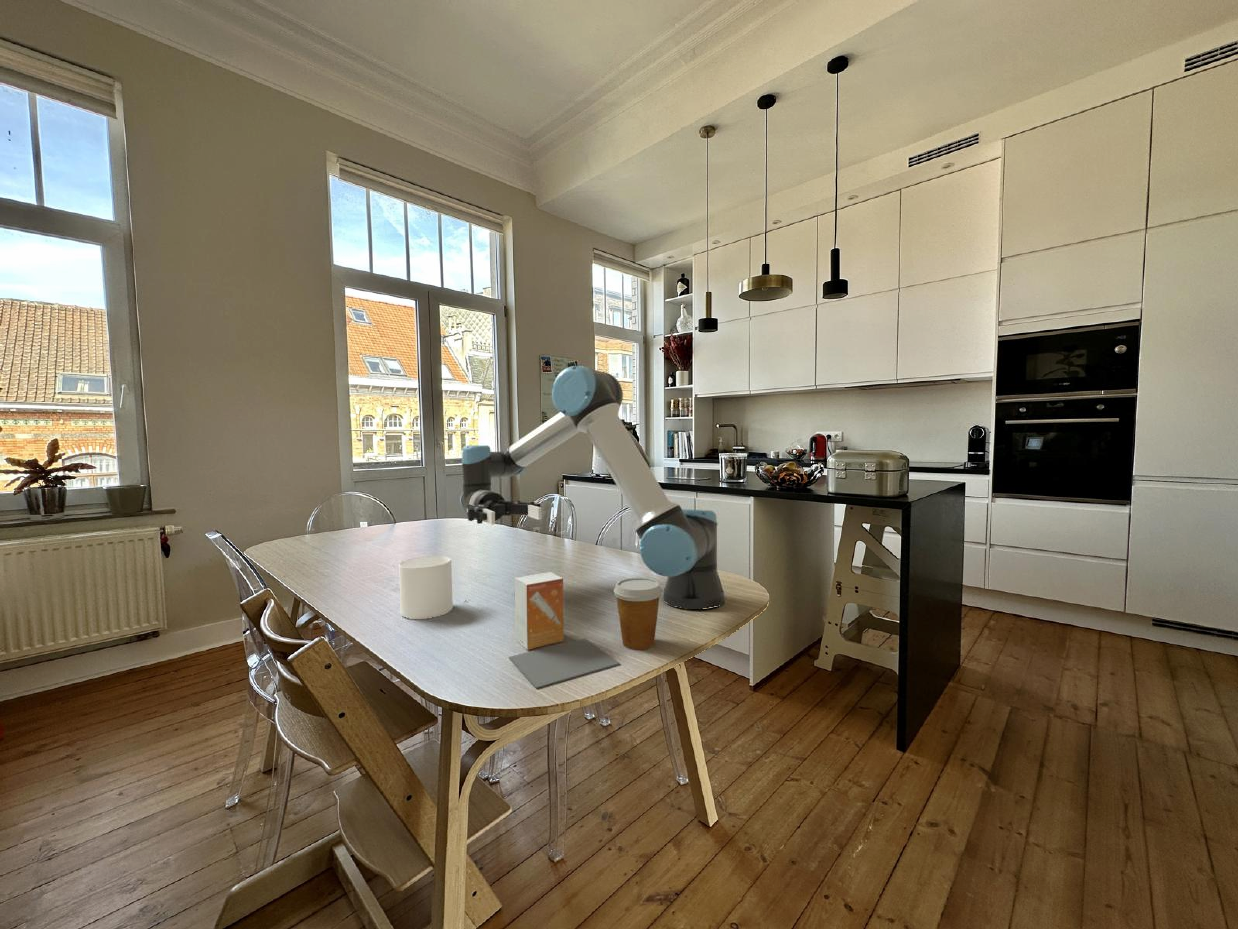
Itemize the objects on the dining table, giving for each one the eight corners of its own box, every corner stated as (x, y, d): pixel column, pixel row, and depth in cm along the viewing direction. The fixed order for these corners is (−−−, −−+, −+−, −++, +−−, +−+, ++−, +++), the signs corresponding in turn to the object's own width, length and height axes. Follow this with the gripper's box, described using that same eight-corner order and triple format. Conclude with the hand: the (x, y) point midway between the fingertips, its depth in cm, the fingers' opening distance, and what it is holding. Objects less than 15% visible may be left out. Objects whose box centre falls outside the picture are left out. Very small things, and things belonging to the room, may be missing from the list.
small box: (527, 651, 94) (525, 584, 94) (515, 640, 100) (513, 577, 99) (565, 641, 99) (563, 577, 98) (551, 631, 104) (550, 570, 103)
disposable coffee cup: (666, 652, 93) (665, 589, 92) (616, 654, 92) (615, 591, 92) (658, 632, 102) (657, 576, 102) (612, 635, 102) (611, 577, 101)
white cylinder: (431, 600, 126) (429, 554, 126) (463, 607, 120) (461, 559, 120) (390, 614, 116) (388, 564, 115) (422, 623, 110) (420, 570, 110)
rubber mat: (585, 639, 99) (585, 638, 99) (619, 664, 88) (619, 662, 88) (509, 658, 91) (508, 656, 91) (536, 689, 80) (536, 687, 80)
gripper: (529, 516, 133) (564, 527, 114) (442, 524, 121) (465, 538, 102) (528, 488, 133) (563, 495, 114) (441, 494, 121) (464, 503, 102)
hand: (517, 516), depth 108 cm, fingers open, 10 cm apart
